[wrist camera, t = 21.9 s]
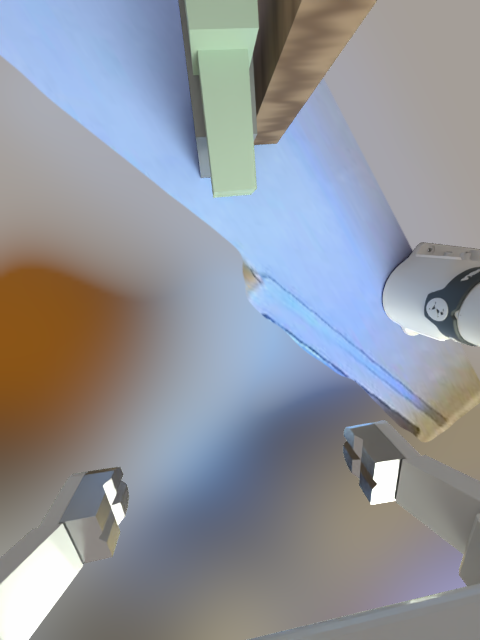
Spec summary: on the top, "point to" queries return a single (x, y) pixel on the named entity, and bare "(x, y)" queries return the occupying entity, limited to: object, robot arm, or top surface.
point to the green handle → (225, 88)
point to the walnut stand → (297, 55)
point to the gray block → (197, 100)
